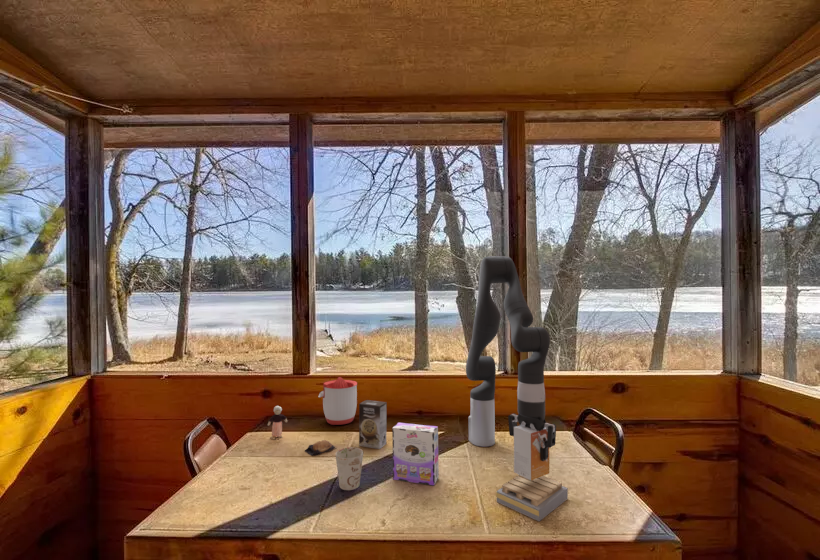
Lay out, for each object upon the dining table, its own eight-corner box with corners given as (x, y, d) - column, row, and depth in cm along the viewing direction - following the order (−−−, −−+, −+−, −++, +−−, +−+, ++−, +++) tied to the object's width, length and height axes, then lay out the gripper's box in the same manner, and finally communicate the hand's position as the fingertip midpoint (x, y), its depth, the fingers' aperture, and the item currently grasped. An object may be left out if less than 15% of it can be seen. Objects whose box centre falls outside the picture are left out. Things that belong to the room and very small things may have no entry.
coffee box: (358, 446, 152) (358, 403, 152) (366, 440, 158) (366, 399, 158) (379, 449, 149) (379, 406, 149) (387, 443, 155) (387, 401, 155)
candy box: (439, 477, 127) (438, 425, 127) (434, 486, 121) (433, 432, 121) (398, 471, 131) (398, 421, 131) (392, 479, 125) (391, 427, 126)
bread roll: (326, 444, 156) (326, 434, 156) (339, 450, 150) (339, 440, 150) (302, 452, 148) (302, 442, 148) (314, 458, 142) (314, 448, 142)
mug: (340, 495, 116) (340, 460, 117) (328, 477, 127) (328, 445, 128) (367, 488, 120) (367, 454, 120) (353, 471, 131) (353, 440, 132)
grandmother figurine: (270, 440, 158) (270, 408, 158) (266, 438, 161) (266, 406, 161) (288, 436, 163) (288, 404, 163) (285, 433, 166) (285, 402, 166)
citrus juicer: (318, 417, 186) (318, 374, 186) (355, 414, 190) (355, 372, 190) (318, 429, 170) (318, 382, 171) (359, 425, 175) (359, 379, 175)
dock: (495, 501, 112) (495, 491, 112) (526, 482, 123) (526, 472, 123) (538, 521, 103) (538, 510, 103) (567, 498, 114) (567, 488, 114)
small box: (531, 481, 108) (530, 433, 108) (513, 472, 113) (512, 426, 114) (550, 473, 113) (549, 427, 113) (532, 465, 118) (531, 421, 118)
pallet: (501, 491, 112) (501, 485, 112) (527, 474, 122) (527, 469, 122) (537, 506, 104) (537, 500, 104) (562, 487, 114) (562, 482, 114)
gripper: (502, 395, 116) (502, 452, 116) (548, 405, 106) (549, 468, 105) (516, 390, 121) (516, 445, 121) (561, 399, 111) (562, 460, 110)
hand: (531, 456), depth 113 cm, fingers closed on small box, 6 cm apart
